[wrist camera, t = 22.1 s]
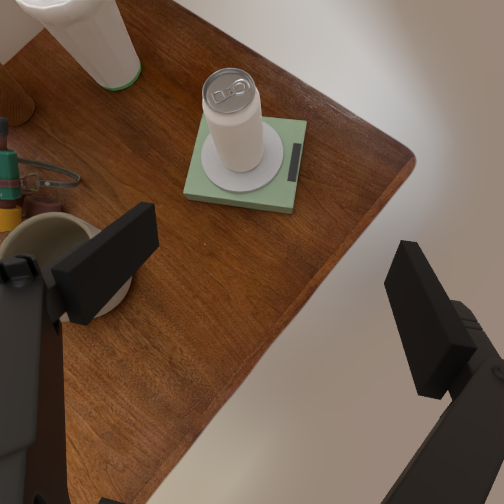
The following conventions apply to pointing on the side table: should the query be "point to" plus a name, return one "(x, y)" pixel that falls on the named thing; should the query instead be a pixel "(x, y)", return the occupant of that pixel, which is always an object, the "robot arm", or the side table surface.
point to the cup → (91, 37)
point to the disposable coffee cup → (14, 100)
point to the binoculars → (9, 185)
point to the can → (234, 118)
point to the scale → (255, 180)
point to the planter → (54, 244)
